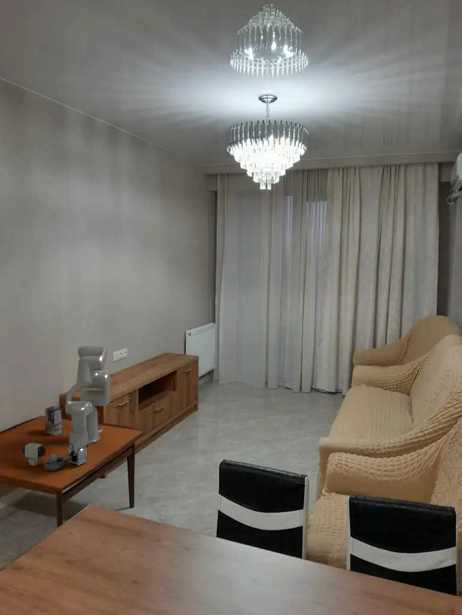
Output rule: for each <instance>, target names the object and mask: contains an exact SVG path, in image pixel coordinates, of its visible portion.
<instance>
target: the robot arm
mask: <svg viewBox="0 0 462 615" xmlns="http://www.w3.org/2000/svg"><path fill="white" fill-rule="evenodd" d="M108 353H109V351H108V348H107V347H106V346H98V345H97V346H96V345H95V346H94V345H93V346H92V345H85V346H84V345H83V346H79V347H78V348H77V355H78V358H79V360H78V362H77V364H78V365H77V373H76V382H75V384H73V385H72V387H71V388H70V389H69V390H68V392H67V395H66V399H65V400H66V401H65V410H64V411H65V414H67V415H69V416H70V415H71V431H70V433H69V438H68V448H67V450H66V452H67V453H68V454H71V455H72V461H73V462H77V455H76V452H77V450H78V449H80V448H83V447H84V448H85V449H88V446H89V444H93V443H97V442H98V441H100V439H101V436H100V434H101V433H103V431H104V430H103V429H98V426H99V424H98V423H99V421H98V420H99V419H98V416H99V415H98V414H99V411H98V410H97V408H96V407H97V406H98V407H99V406H101V407H103V406H105V407H106V406H108V405H109V404H110V400H111V399H110V398H111V378H110V374H108V372H100V371H103V369H104V368H105V366H106V362H107V359H108V355H109V354H108ZM85 388H87V389H85ZM82 389H85V390H83V391H82V392H81V393H80V395H79V396H80V398H79V400H73V397H74V395H75V394H76V393H77V392H79V390H82ZM73 451H74V453H73Z"/></svg>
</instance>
